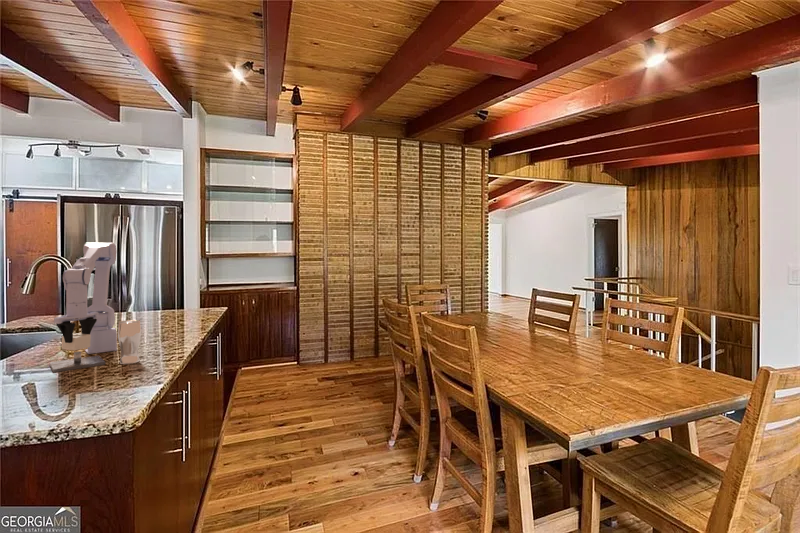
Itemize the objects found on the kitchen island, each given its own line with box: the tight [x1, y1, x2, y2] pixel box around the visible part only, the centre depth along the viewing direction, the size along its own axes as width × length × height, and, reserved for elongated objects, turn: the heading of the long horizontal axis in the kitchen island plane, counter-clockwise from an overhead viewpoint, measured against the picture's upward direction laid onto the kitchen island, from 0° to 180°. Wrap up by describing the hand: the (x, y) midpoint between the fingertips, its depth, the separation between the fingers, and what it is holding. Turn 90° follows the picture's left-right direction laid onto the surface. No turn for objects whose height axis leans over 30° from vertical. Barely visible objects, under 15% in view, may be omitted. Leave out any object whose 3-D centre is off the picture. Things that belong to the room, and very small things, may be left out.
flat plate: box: [49, 351, 106, 373], centre depth 141 cm, size 14×12×4 cm
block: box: [61, 332, 91, 352], centre depth 141 cm, size 6×6×4 cm
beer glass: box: [117, 319, 142, 365], centre depth 145 cm, size 7×7×15 cm
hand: (77, 340), depth 141 cm, fingers closed on block, 6 cm apart
